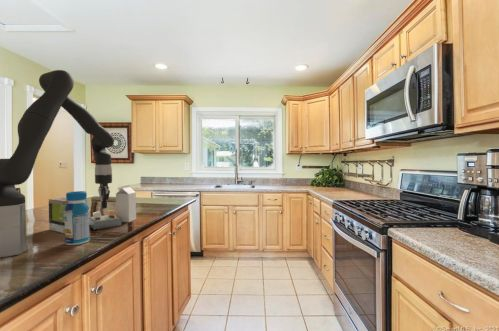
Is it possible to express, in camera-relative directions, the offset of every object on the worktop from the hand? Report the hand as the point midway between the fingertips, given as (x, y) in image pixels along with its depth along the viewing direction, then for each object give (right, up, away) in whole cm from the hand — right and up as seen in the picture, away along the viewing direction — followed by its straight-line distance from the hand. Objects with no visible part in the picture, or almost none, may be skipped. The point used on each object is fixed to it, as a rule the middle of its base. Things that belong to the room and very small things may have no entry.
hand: (104, 208), depth 132 cm
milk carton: (+7, -9, +9) cm, 14 cm away
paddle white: (-2, -3, -2) cm, 4 cm away
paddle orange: (+2, -3, +2) cm, 4 cm away
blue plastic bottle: (+5, -9, -28) cm, 30 cm away
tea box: (-13, -9, -7) cm, 18 cm away
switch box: (0, -9, 0) cm, 8 cm away
